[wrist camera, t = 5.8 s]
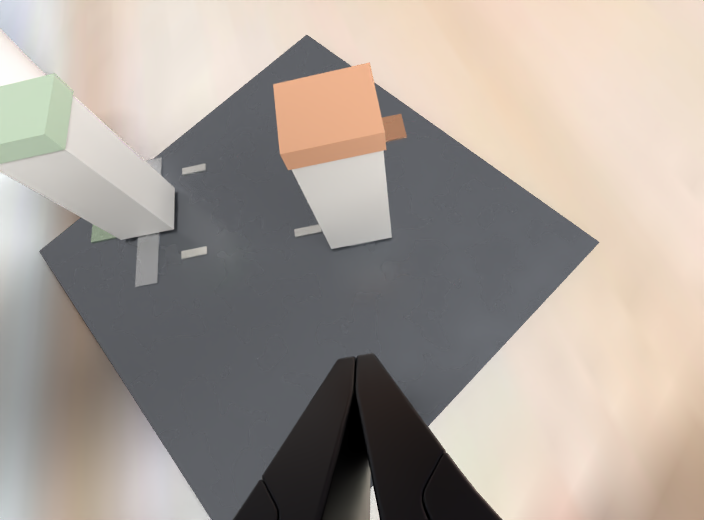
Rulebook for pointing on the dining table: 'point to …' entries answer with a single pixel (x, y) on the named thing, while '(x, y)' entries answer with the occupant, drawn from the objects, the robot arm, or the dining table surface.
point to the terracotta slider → (337, 151)
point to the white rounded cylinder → (15, 63)
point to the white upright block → (79, 160)
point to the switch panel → (305, 282)
